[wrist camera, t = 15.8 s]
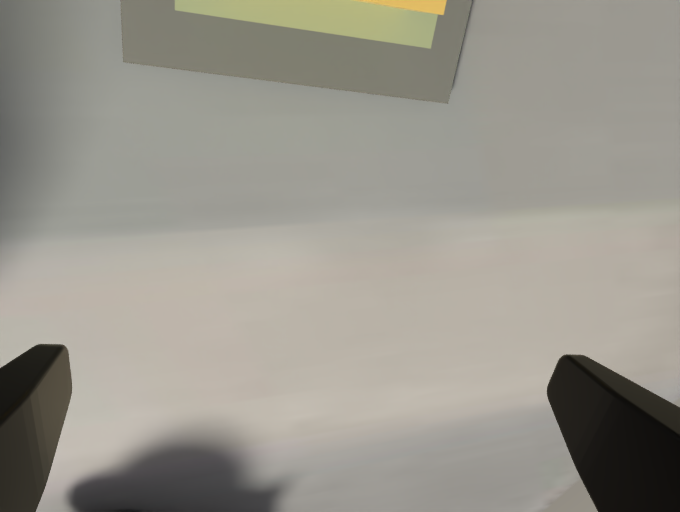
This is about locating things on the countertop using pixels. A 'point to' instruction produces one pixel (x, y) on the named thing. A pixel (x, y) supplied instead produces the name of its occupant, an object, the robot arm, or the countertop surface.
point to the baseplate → (302, 42)
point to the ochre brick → (413, 5)
